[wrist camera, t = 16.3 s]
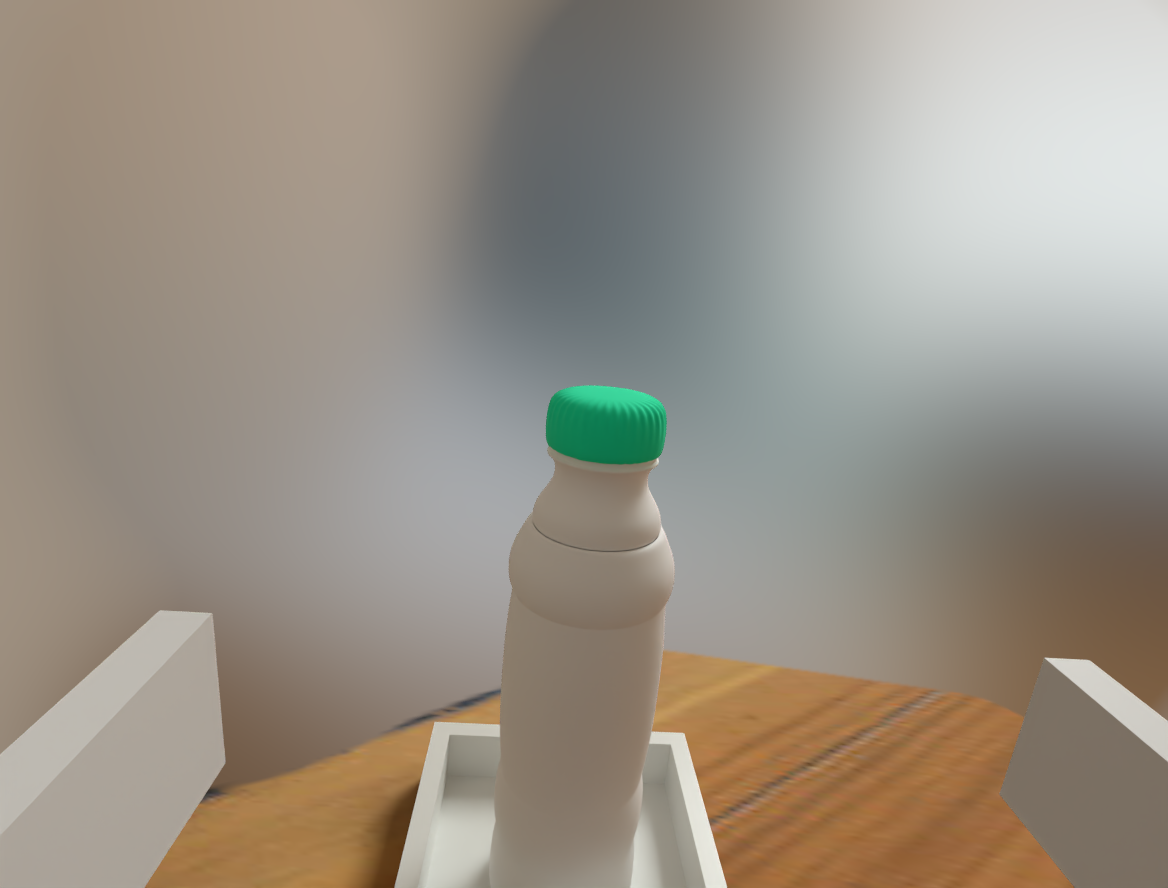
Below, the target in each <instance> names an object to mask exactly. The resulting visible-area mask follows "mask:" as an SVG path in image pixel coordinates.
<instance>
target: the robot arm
mask: <svg viewBox="0 0 1168 888" xmlns="http://www.w3.org/2000/svg"><path fill="white" fill-rule="evenodd" d="M224 764H225V752H224V741H223V730H222V719H221V706H220V695H219V684H218V673H217V661H216V649H215V638H214V627H213V615H212V613H198V612H179V611H159V612H158V613H156V614H155V615H154V616H153V617H152V618H151V619H150V620H149V621H148V622H146V623H145V625H143V626H142V627H141V628H140V629H139V630H138V631H136V632H135V633H134V634H133V635H132V636H131V637H130V638H129V639H128V640H127V641H125V642H124V643H123V644H122V645H121V646H120V647H119V648H118V649H117V650H115V652H113V653H112V654H111V655H110V656H109V657H108V658H107V659H105V660H104V661H103V662H102V663H101V664H100V665H99V666H98V667H97V668H96V669H94V670H93V671H92V672H91V673H90V674H89V675H88V676H87V677H86V678H84V679H83V680H82V681H81V682H80V683H79V684H78V685H77V686H76V687H74V688H73V689H72V690H71V691H70V692H69V693H68V694H67V695H66V696H65V697H63V698H62V699H61V700H60V701H59V702H58V703H57V704H56V705H55V706H53V707H52V708H51V709H50V710H49V711H48V712H47V713H46V714H45V715H43V716H42V717H41V718H40V719H39V720H38V721H37V722H36V723H35V724H34V725H33V726H31V727H30V728H29V729H28V730H27V731H26V732H25V733H24V734H22V735H21V736H20V737H19V738H18V739H17V740H16V741H15V742H14V743H12V745H10V746H9V747H8V748H7V749H6V750H5V751H4V752H2V753H1V754H0V888H144V887H145V886H146V884H147V883H148V881H149V880H150V878H151V876H152V875H153V873H154V872H155V870H156V869H157V867H158V866H159V864H160V863H161V861H162V860H163V858H164V857H165V855H166V853H167V852H168V850H169V849H170V847H171V846H172V844H173V843H174V841H175V840H176V838H177V837H178V835H179V833H180V832H181V830H182V829H183V827H184V826H185V824H186V823H187V821H188V820H189V818H190V817H191V815H192V813H193V812H194V810H195V809H196V807H197V806H198V804H199V803H200V801H201V800H202V798H203V797H204V795H205V794H206V792H207V790H208V789H209V787H210V786H211V784H212V783H213V781H214V779H215V778H216V777H217V775H218V773H219V772H220V770H221V769H222V767H223V766H224ZM1000 796H1001V797H1002V798H1003V799H1004V800H1005V802H1006V803H1007V804H1008V805H1009V807H1010V808H1011V809H1012V810H1013V812H1014V813H1015V814H1016V815H1017V817H1018V818H1019V819H1020V820H1021V822H1022V823H1023V824H1024V825H1025V827H1026V828H1027V829H1028V830H1029V831H1030V833H1031V834H1032V835H1033V836H1034V838H1035V839H1036V840H1037V841H1038V843H1039V844H1040V845H1041V846H1042V848H1043V849H1044V850H1045V851H1046V853H1047V854H1048V855H1049V856H1050V857H1051V859H1052V860H1053V861H1054V862H1055V864H1056V865H1057V866H1058V867H1059V869H1060V870H1061V871H1062V872H1063V874H1064V875H1065V876H1066V877H1067V879H1068V880H1069V881H1070V882H1071V884H1072V885H1073V886H1074V887H1075V888H1168V721H1167V720H1165V719H1164V718H1163V717H1162V716H1160V715H1159V714H1158V713H1156V712H1155V711H1154V710H1153V709H1151V708H1150V707H1149V706H1148V705H1146V704H1145V703H1144V702H1142V701H1141V700H1140V699H1138V698H1137V697H1136V696H1135V695H1133V694H1132V693H1131V692H1129V691H1128V690H1127V689H1126V688H1124V687H1123V686H1122V685H1121V684H1119V683H1118V682H1117V681H1115V680H1114V679H1113V678H1111V677H1110V676H1109V675H1108V674H1106V673H1105V672H1104V671H1102V670H1101V669H1100V668H1099V667H1097V666H1096V665H1095V664H1093V663H1092V662H1091V661H1090V660H1076V659H1058V658H1057V659H1056V658H1044V661H1043V663H1042V667H1041V670H1040V673H1039V676H1038V679H1037V682H1036V685H1035V688H1034V691H1033V694H1032V697H1031V700H1030V703H1029V706H1028V709H1027V712H1026V715H1025V718H1024V721H1023V724H1022V727H1021V730H1020V733H1019V736H1018V740H1017V743H1016V746H1015V749H1014V752H1013V755H1012V758H1011V761H1010V764H1009V767H1008V770H1007V773H1006V776H1005V779H1004V782H1003V785H1002V788H1001V791H1000Z"/></svg>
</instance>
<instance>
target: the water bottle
mask: <svg viewBox="0 0 1168 888" xmlns="http://www.w3.org/2000/svg"><path fill="white" fill-rule="evenodd" d="M666 424H667V421H666V411H665V409H664V407H663V405H662V403H661V402H659V401H658V400H657V399H656V398H654V397H652V396H650V395H647V394H645V393H641V392H639V391H634V390H629V389H626V388H618V387H615V388H614V387H607V386H591V385H589V386H576V387H570V388H566V389H563V390H560V391H558V392H557V393H556V394H554V396H553V397H552V398H551V400H550V403H549V407H548V412H547V420H546V440H547V443H548V445H549V447H548V450H547V451H548V454H549V456H551V457H552V458H553V460H554V462H555V472H554V476H553V478H552V479H551V481H550V482H549V483H548V485H547V486H546V487H545V489H544V490H543V491H542V492H541V494H540V495H539V496H538V498H537V500H536V502H535V505H534V508H533V512H532V513H531V514H530V515H529V517H528V518H527V520H526V521H525V523H524V524H523V526H522V528H521V529H520V531H519V533H518V534H517V536H516V538H515V540H514V543H513V545H512V548H511V552H510V557H509V578H510V582H511V585H512V588H513V589H512V593H511V599H510V605H509V612H508V618H507V626H506V634H505V644H504V655H503V669H502V684H501V705H500V747H501V758H500V761H499V765H498V769H497V774H496V781H495V794H494V810H495V819H496V821H495V825H494V829H493V835H492V842H491V850H490V863H489V878H490V885H491V888H630V886H631V880H632V872H633V862H634V836H635V833H636V830H637V827H638V822H639V818H640V812H641V806H642V795H643V780H642V771H643V767H644V764H645V760H646V755H647V751H648V747H649V742H650V737H651V732H652V726H653V720H654V714H655V707H656V701H657V694H658V687H659V679H660V672H661V663H662V654H663V643H664V627H665V605H666V602H667V601H668V599H669V597H670V595H671V592H672V589H673V584H674V577H675V566H674V560H673V555H672V551H671V549H670V545H669V543H668V540H667V537H666V534H665V532H664V530H663V528H662V526H661V518H660V513H659V510H658V507H657V505H656V503H655V501H654V499H653V497H652V495H651V493H650V491H649V488H648V474H649V472H650V471H651V470H652V469H653V468H655V467H656V466H657V465H658V463H659V460H658V457H659V456H660V455H661V453H662V450H663V447H664V442H665V436H666Z"/></svg>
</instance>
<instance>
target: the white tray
mask: <svg viewBox="0 0 1168 888" xmlns="http://www.w3.org/2000/svg"><path fill="white" fill-rule="evenodd" d="M500 758H501V747H500V725H493V724H471V723H449V722H435V723H434V727H433V732H432V736H431V740H430V744H429V748H428V752H427V756H426V760H425V764H424V768H423V772H422V777H421V781H420V785H419V789H418V793H417V797H416V801H415V805H414V809H413V813H412V817H411V822H410V826H409V830H408V834H407V838H406V842H405V846H404V850H403V854H402V858H401V862H400V867H399V871H398V875H397V879H396V883H395V887H394V888H491V885H490V878H489V863H490V850H491V842H492V835H493V829H494V825H495V821H496V819H495V810H494V794H495V781H496V774H497V769H498V765H499V761H500ZM642 780H643V795H642V806H641V812H640V818H639V822H638V827H637V830H636V833H635V836H634V862H633V872H632V880H631V886H630V888H727V886H726V882H725V878H724V875H723V871H722V868H721V864H720V860H719V857H718V853H717V850H716V846H715V842H714V839H713V835H712V832H711V828H710V825H709V821H708V817H707V814H706V810H705V807H704V803H703V799H702V796H701V792H700V789H699V785H698V781H697V778H696V774H695V771H694V767H693V763H692V760H691V756H690V753H689V749H688V745H687V742H686V738H685V735H684V733H669V732H651V737H650V742H649V747H648V751H647V755H646V760H645V764H644V767H643V771H642Z"/></svg>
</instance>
